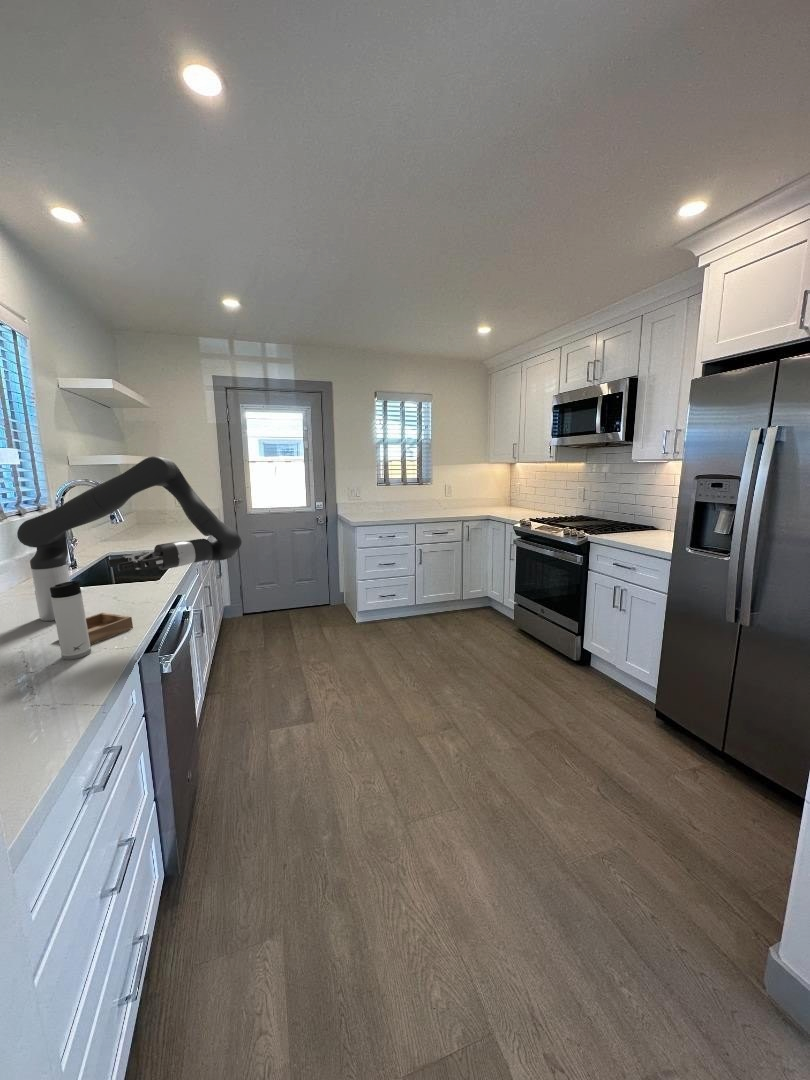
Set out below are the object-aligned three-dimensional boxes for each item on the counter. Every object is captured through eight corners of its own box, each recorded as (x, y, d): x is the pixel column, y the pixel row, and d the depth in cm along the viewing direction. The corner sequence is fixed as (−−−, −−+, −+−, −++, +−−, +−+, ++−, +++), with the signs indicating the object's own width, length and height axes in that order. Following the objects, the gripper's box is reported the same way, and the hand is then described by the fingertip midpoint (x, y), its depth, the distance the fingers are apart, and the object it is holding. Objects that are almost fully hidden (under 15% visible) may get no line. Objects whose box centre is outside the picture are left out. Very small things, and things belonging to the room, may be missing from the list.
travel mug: (84, 659, 114) (71, 584, 111) (56, 661, 114) (42, 586, 110) (97, 648, 121) (85, 577, 117) (71, 650, 120) (58, 579, 116)
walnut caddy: (59, 639, 128) (57, 627, 127) (104, 623, 140) (102, 612, 139) (89, 644, 123) (87, 632, 123) (133, 627, 135) (131, 617, 135)
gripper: (164, 540, 137) (103, 549, 125) (183, 544, 128) (119, 555, 116) (167, 563, 138) (107, 575, 127) (186, 570, 129) (124, 583, 117)
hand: (113, 565), depth 121 cm, fingers open, 8 cm apart
